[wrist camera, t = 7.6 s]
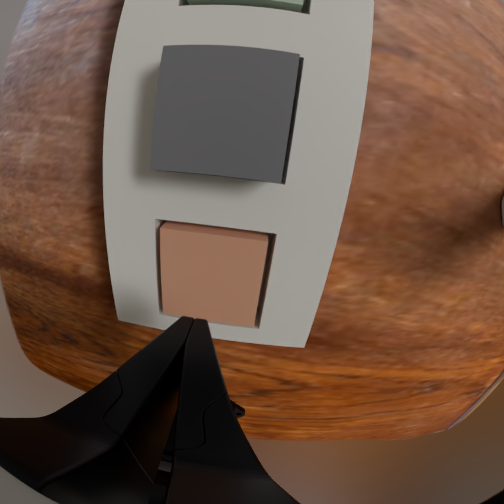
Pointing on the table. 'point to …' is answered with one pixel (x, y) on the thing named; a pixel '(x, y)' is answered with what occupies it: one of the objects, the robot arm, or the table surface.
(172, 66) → the charcoal key
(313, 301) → the keypad frame
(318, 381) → the table surface
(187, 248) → the terracotta key
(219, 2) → the sage key
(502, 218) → the eye dropper bottle
